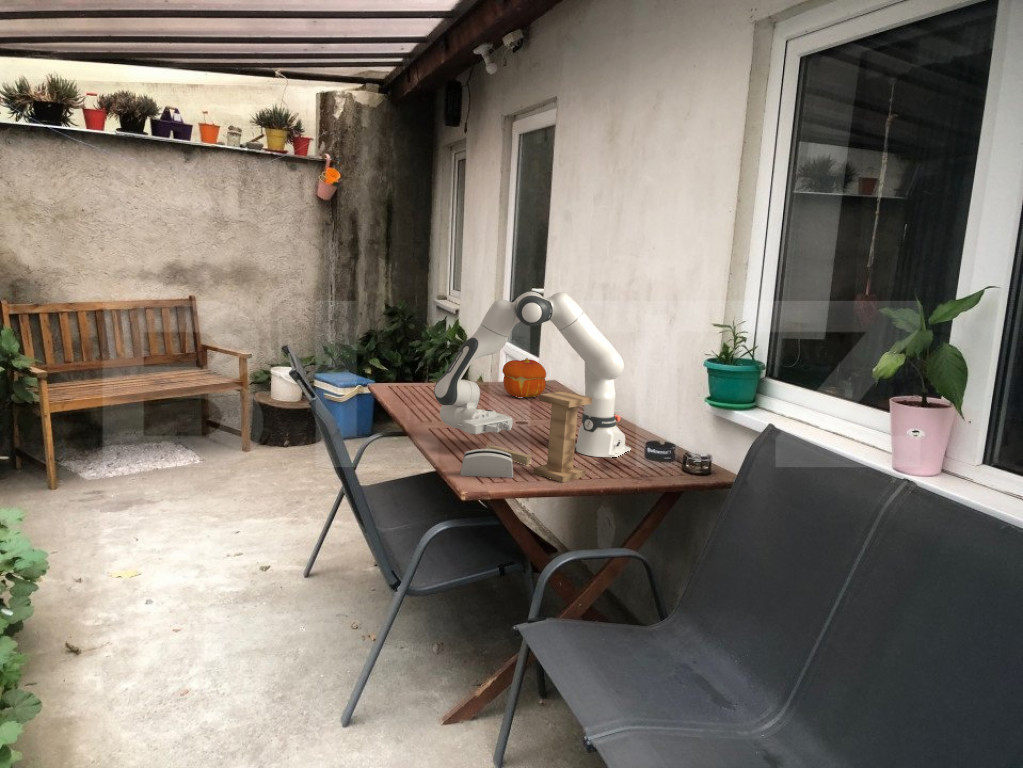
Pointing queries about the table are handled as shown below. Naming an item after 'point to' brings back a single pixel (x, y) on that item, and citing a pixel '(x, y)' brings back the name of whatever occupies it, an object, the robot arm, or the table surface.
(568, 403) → the stand
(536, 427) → the table surface
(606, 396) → the robot arm
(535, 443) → the table surface
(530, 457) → the batten
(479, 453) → the grey arched block
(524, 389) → the pumpkin
